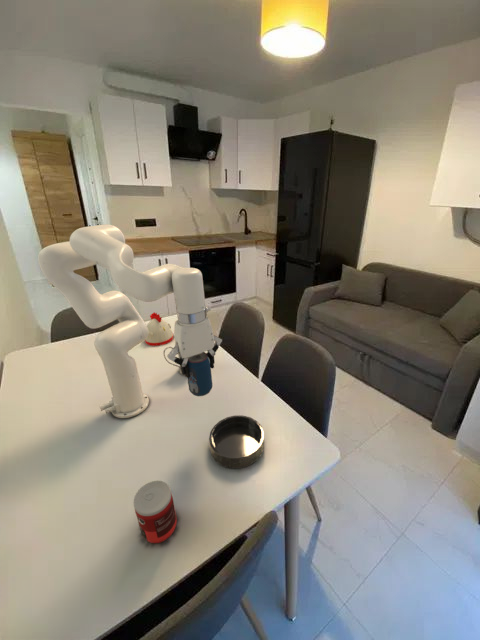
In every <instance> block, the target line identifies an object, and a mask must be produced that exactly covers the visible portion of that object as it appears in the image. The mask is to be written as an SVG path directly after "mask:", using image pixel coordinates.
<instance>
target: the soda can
mask: <svg viewBox="0 0 480 640" xmlns="http://www.w3.org/2000/svg"><path fill="white" fill-rule="evenodd" d="M187 365H188V367H189V374H190V377H189V378H187V377H186V378H187V379H186V380H187V384H188V391H189V392H190V393H191V394H192V395H193V396H195V397H204V396H207V395H208V394H209V393H210V392H211V391H212V388H213V377H212V368H211V366H210V359H209V357H208V356H207V352H206V351H205V352H202V353H199V354H197V355H194V356H191V357H189V358H188V361H187Z"/></svg>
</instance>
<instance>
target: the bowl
mask: <svg viewBox="0 0 480 640" xmlns="http://www.w3.org/2000/svg"><path fill="white" fill-rule="evenodd" d="M208 443H209V450H210V455H211V457H212V458H213V460H214V461H215V462H216V463H217V464H219V465H220V466H222V467H225V468H228V469H242V468H245V467H248V466H250V465H252V464H254V463H255V462H256V461H258V459H259V458H260V457H261V456H262V454H263V451H264V449H265V431H264V429H263V426H262V425H261V423H259V421H257V420H256V419H254V418H252V417H251V416H247V415H243V414H242V415H240V414H239V415H230V416H227V417H224V418H223V419H221V420H219V421H218V422H217V423H216V424H214V425H213V427H212V429H210V432H209V437H208Z"/></svg>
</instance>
